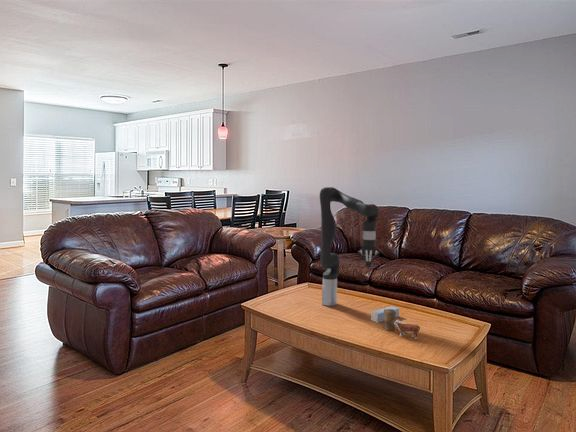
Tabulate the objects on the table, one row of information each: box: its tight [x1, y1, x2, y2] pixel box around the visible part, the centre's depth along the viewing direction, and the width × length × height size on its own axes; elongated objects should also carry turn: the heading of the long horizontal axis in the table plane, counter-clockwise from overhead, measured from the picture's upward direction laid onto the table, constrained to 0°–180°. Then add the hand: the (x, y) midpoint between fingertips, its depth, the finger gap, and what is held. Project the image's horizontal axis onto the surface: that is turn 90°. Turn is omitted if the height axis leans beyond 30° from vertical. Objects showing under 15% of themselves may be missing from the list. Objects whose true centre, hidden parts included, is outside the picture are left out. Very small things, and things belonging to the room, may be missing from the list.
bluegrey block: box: [370, 305, 400, 323], centre depth 243 cm, size 5×5×18 cm
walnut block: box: [382, 309, 397, 331], centre depth 226 cm, size 5×5×10 cm
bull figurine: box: [394, 319, 421, 340], centre depth 215 cm, size 4×13×8 cm, turn 59°
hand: (368, 267), depth 246 cm, fingers closed
